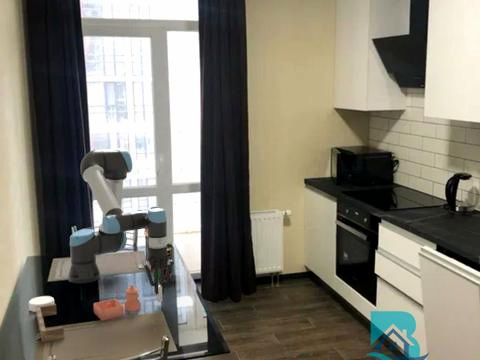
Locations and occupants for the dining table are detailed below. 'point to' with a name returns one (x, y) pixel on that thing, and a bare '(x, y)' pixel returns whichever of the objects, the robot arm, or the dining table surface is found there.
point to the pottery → (117, 305)
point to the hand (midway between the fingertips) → (159, 300)
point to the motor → (170, 256)
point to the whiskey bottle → (148, 246)
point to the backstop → (45, 333)
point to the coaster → (40, 302)
